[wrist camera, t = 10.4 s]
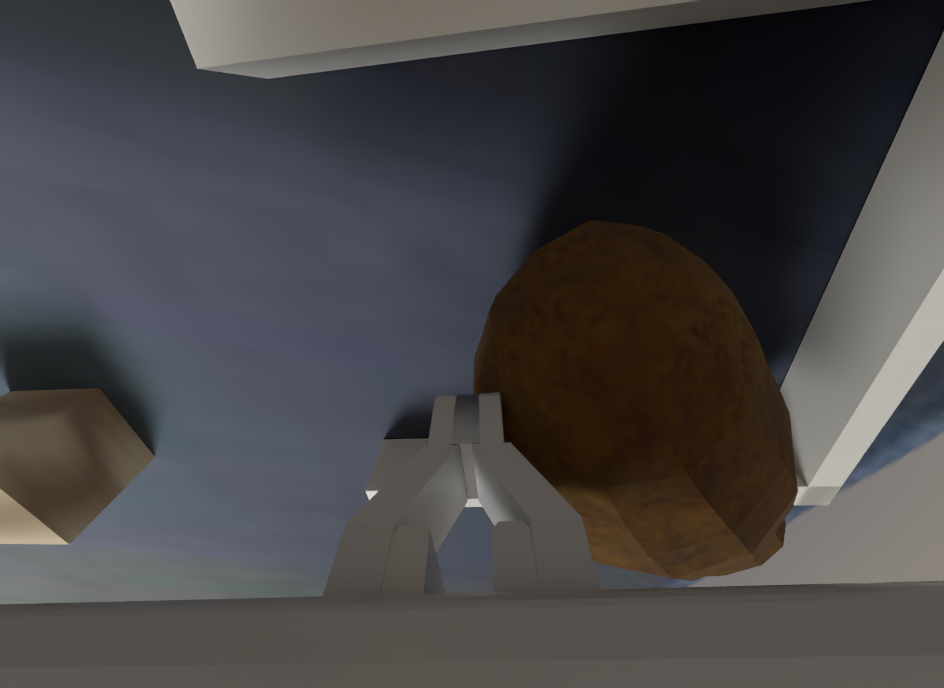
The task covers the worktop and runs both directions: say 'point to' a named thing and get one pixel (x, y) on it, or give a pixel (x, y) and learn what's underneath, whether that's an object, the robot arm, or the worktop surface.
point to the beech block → (61, 462)
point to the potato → (643, 401)
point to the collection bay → (641, 8)
